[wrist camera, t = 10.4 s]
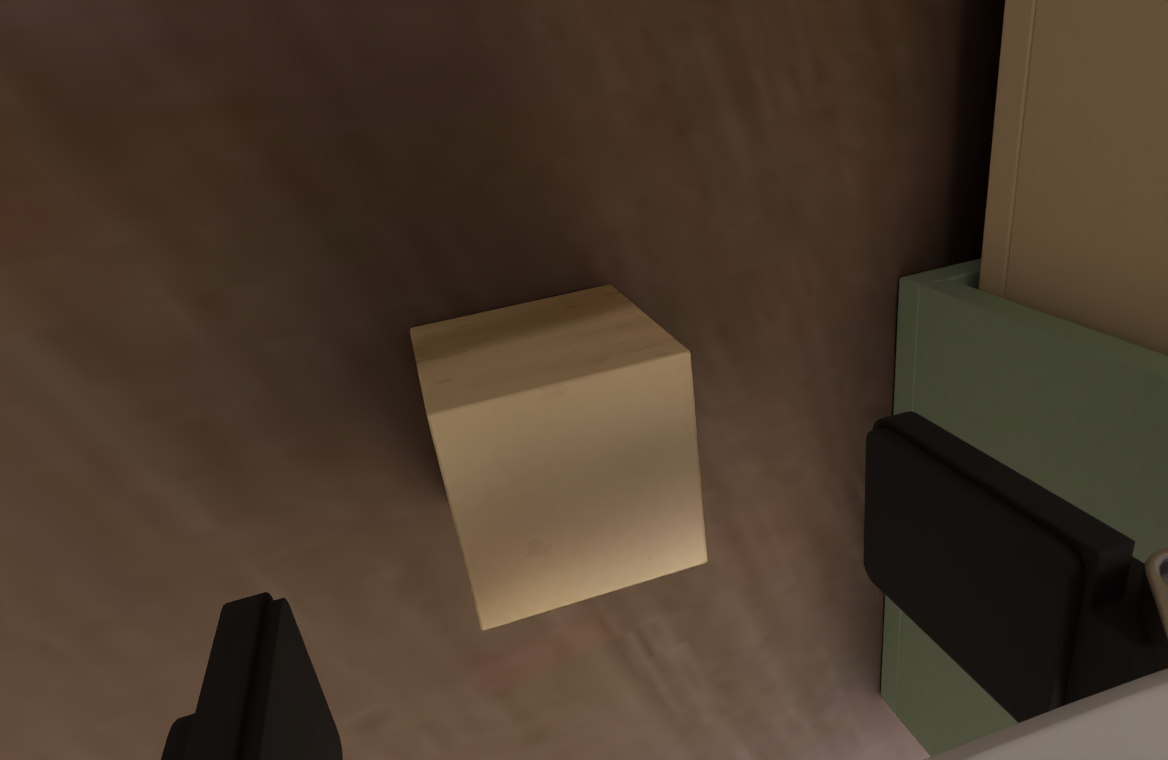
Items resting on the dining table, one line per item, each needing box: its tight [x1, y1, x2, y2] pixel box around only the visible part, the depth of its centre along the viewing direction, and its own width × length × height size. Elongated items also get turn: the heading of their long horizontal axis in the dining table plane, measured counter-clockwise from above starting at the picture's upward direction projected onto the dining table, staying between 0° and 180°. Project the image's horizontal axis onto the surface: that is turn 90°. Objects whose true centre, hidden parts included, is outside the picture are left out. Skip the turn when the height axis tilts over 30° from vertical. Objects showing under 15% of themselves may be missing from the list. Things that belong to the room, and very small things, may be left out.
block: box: [410, 285, 707, 630], centre depth 15 cm, size 4×4×4 cm
